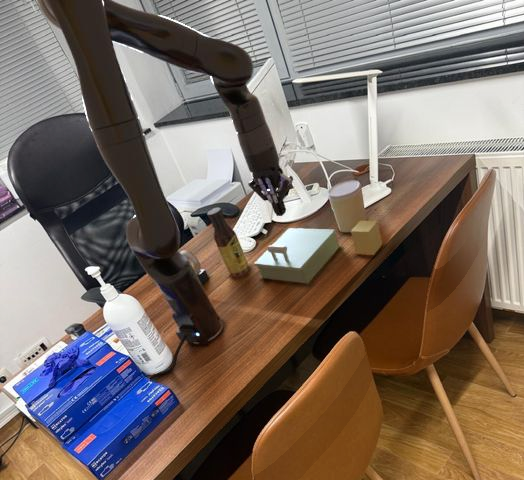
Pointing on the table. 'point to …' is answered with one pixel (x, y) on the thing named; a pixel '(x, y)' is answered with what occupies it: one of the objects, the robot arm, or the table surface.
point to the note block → (366, 237)
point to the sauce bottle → (228, 244)
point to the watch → (196, 266)
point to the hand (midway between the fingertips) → (281, 214)
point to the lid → (295, 248)
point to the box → (309, 269)
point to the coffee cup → (347, 204)
